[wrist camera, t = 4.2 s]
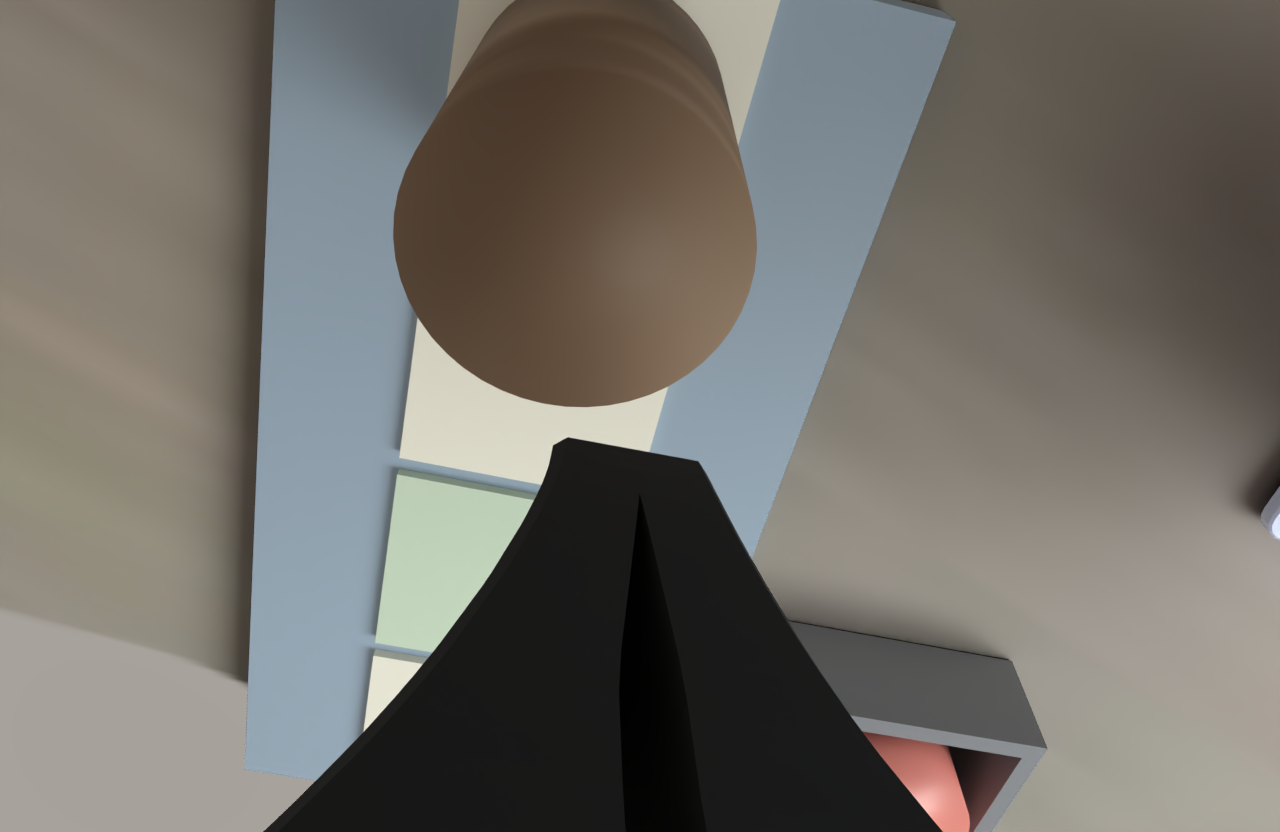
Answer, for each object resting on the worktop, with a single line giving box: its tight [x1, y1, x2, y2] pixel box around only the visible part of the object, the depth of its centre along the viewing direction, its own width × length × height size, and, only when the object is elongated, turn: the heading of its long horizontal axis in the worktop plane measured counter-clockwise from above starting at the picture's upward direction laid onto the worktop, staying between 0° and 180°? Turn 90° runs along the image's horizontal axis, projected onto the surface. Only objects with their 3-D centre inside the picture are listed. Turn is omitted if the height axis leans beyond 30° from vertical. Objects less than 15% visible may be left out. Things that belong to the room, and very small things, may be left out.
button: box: [862, 731, 970, 832], centre depth 23 cm, size 4×4×2 cm
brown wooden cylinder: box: [393, 0, 757, 407], centre depth 14 cm, size 4×4×6 cm
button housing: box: [789, 621, 1047, 832], centre depth 24 cm, size 6×6×2 cm
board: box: [245, 0, 956, 780], centre depth 20 cm, size 10×20×1 cm, turn 167°
